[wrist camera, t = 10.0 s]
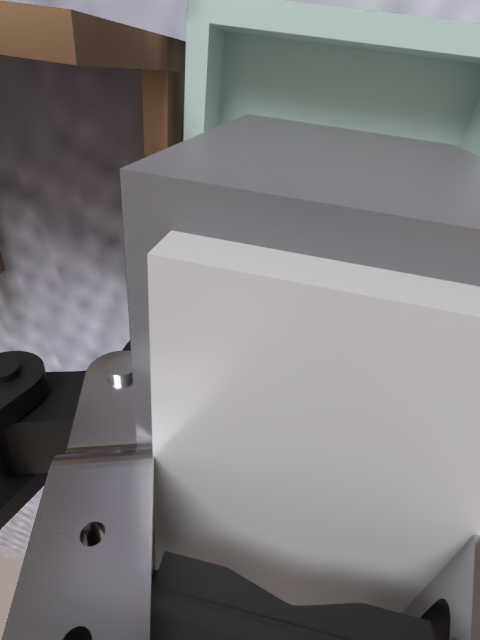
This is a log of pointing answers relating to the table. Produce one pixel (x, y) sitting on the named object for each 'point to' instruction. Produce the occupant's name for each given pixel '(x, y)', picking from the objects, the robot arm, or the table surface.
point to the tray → (332, 69)
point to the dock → (105, 59)
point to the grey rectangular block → (308, 354)
